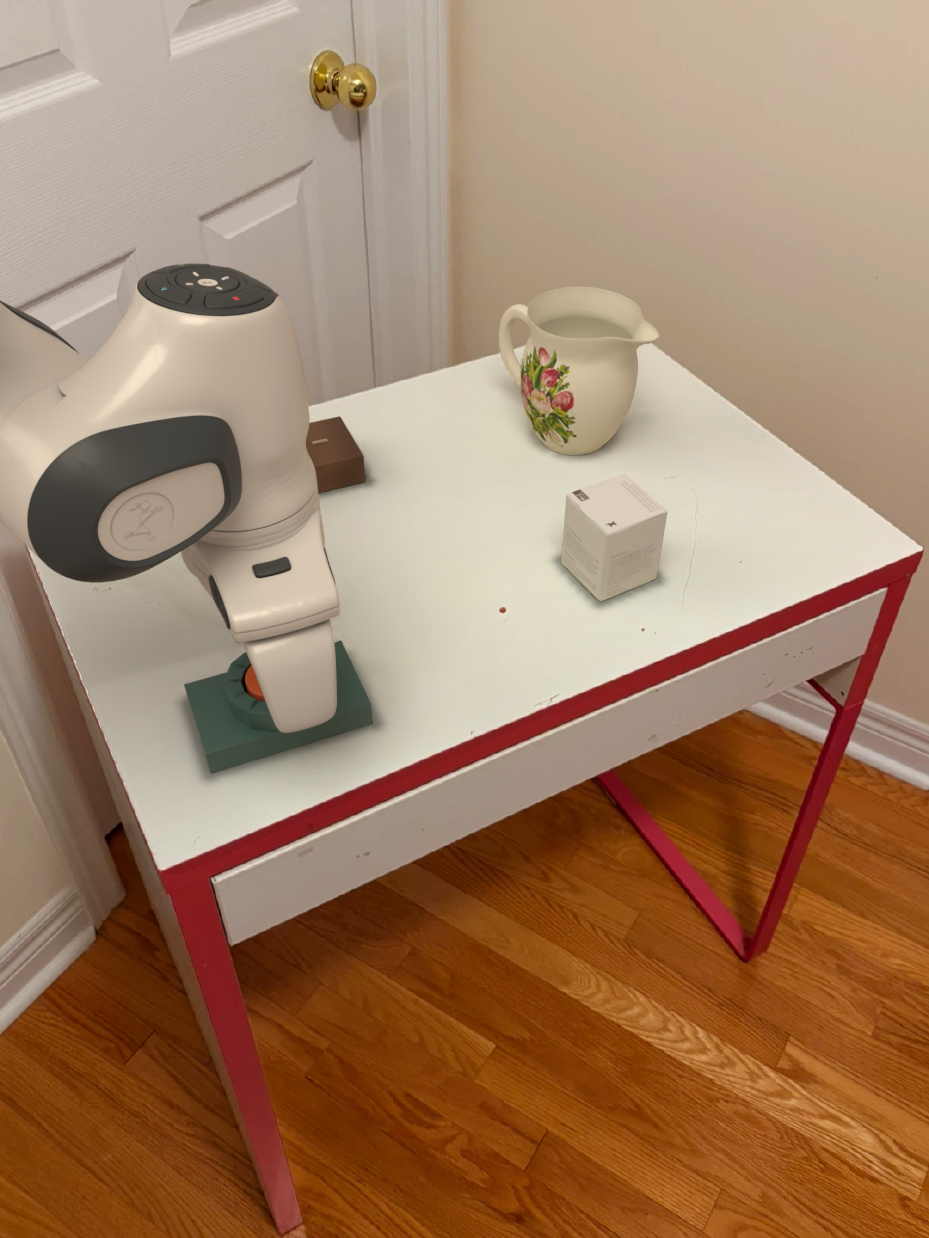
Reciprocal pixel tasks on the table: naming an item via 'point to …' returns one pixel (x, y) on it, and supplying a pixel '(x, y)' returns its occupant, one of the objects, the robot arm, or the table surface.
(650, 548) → the product carton
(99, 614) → the table surface
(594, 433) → the pitcher
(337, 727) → the button block
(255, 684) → the release button
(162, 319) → the robot arm
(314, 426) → the dial panel
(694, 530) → the table surface
